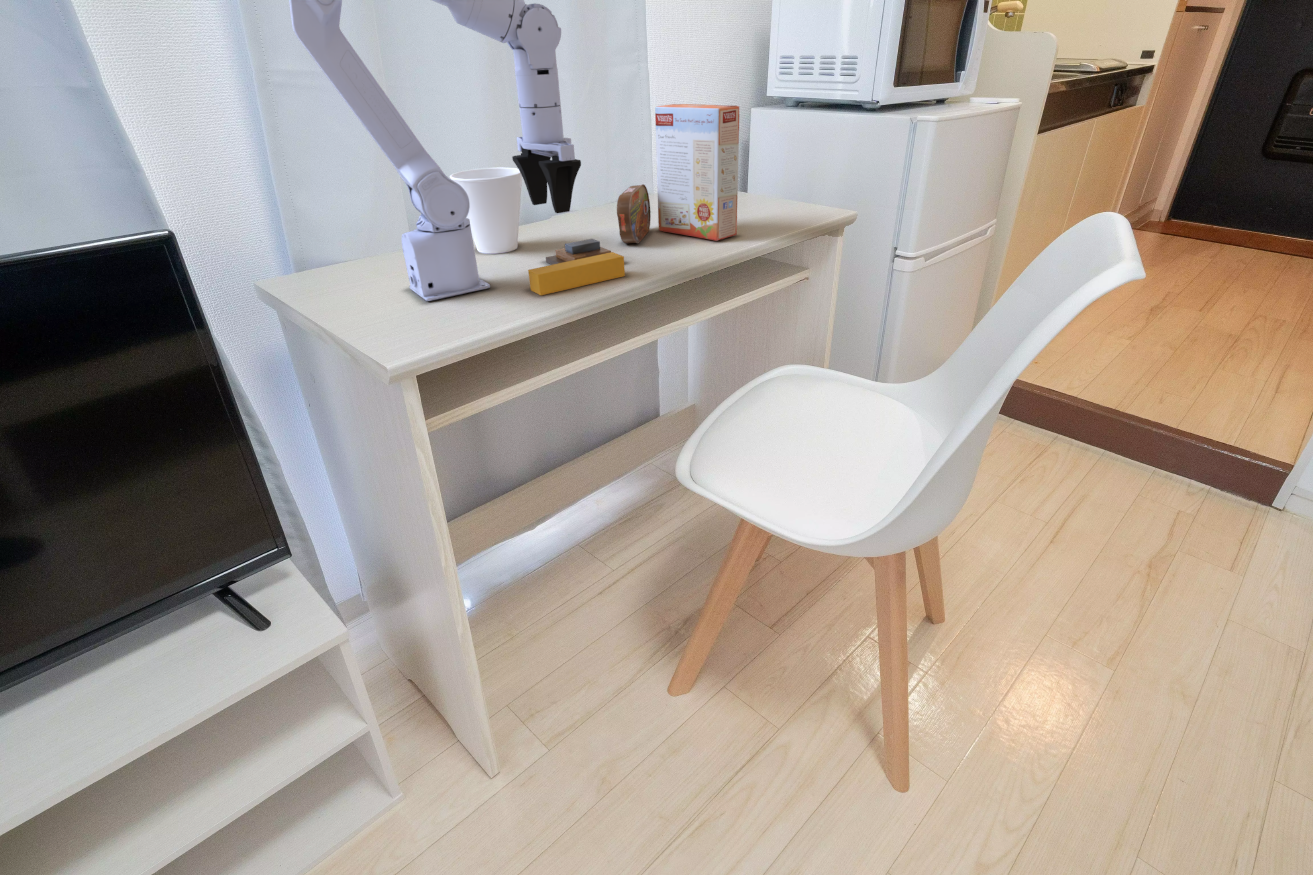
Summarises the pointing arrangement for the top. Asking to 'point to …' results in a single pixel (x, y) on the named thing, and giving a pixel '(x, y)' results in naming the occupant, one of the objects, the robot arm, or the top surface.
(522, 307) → the top surface
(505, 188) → the cup
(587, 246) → the brown stepped stand
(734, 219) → the cracker box
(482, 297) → the top surface
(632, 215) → the tin
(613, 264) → the bar
